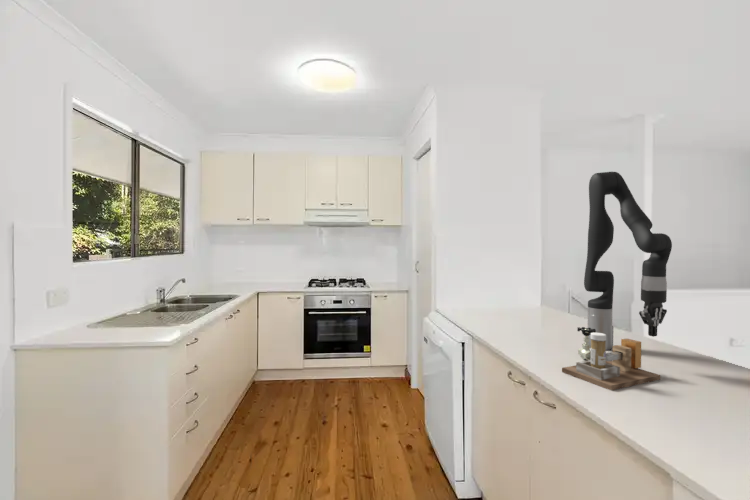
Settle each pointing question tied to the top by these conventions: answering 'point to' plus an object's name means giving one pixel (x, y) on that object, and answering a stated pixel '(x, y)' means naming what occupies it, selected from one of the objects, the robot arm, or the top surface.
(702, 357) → the top surface
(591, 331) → the valve
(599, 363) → the spice jar
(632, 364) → the bar
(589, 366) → the socket base
